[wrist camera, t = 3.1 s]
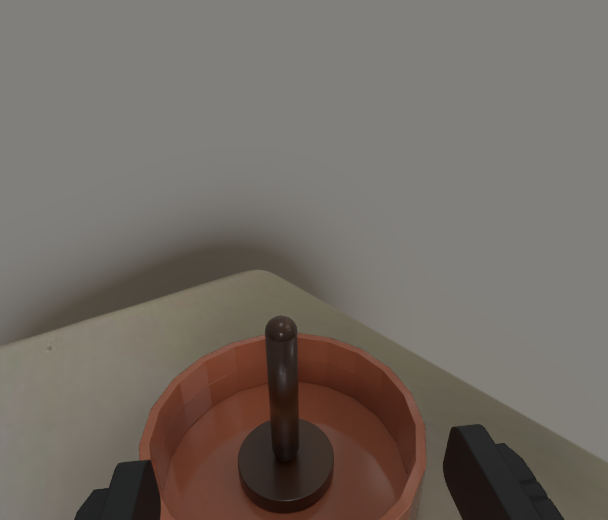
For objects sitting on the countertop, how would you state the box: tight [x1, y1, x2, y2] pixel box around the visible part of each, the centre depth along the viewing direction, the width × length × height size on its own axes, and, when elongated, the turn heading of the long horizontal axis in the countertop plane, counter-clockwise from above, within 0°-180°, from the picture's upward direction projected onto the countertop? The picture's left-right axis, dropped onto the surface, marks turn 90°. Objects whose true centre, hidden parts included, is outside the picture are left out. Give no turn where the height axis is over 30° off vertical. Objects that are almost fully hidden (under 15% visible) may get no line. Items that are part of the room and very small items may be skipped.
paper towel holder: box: [238, 316, 334, 513], centre depth 25 cm, size 6×6×12 cm
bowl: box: [139, 333, 426, 520], centre depth 27 cm, size 17×17×6 cm
